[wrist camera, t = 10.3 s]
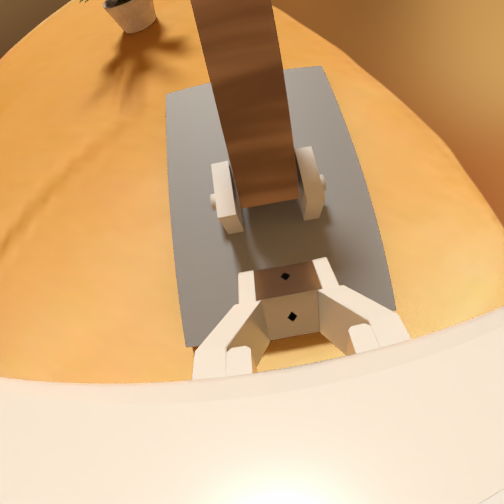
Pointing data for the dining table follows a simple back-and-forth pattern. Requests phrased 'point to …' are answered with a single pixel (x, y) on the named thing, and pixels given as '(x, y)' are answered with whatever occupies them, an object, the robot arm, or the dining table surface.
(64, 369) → the dining table surface
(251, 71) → the lever
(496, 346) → the robot arm
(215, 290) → the press base
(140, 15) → the house plant
